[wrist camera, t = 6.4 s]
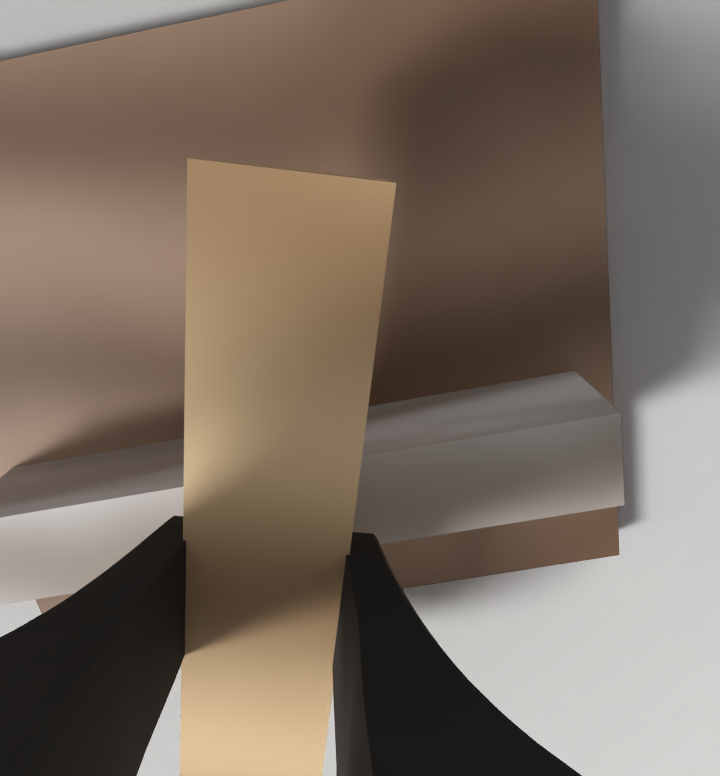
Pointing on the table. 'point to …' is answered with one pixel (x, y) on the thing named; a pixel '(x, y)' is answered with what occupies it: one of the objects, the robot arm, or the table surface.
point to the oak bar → (272, 451)
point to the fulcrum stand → (400, 290)
